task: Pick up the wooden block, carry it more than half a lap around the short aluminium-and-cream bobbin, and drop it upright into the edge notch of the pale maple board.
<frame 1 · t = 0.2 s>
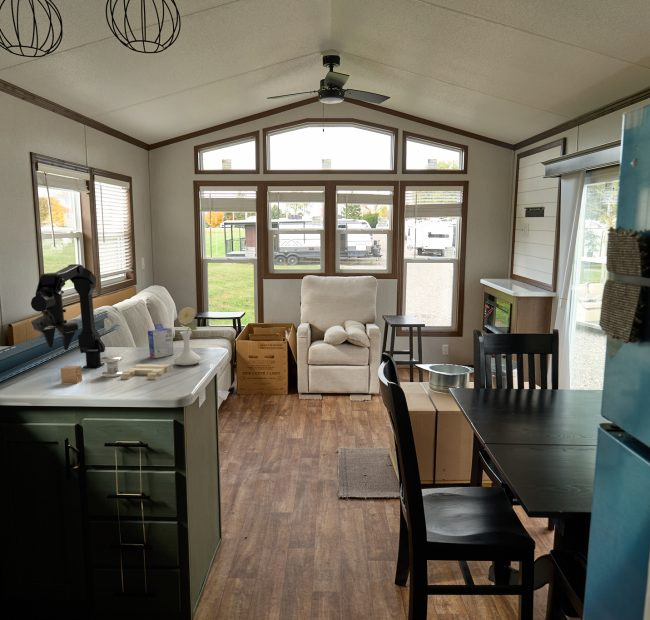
hand: (58, 348, 214), 14 cm above the table, tool pointing down, fingers open, 9 cm apart
ink cartridge box: (161, 356, 260), on the table
bobbin: (113, 374, 228), on the table
wooden block: (72, 382, 218), on the table
flower in vase: (188, 364, 243), on the table
notched board: (146, 373, 228), on the table
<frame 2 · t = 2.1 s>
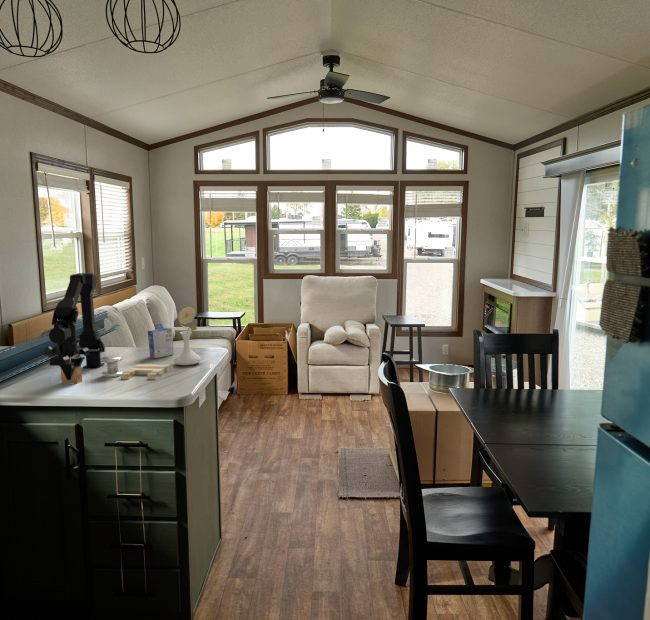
hand: (71, 378, 218), 2 cm above the table, tool pointing down, fingers closed on wooden block, 4 cm apart
wooden block: (72, 382, 218), on the table, touching gripper
everything else where it was.
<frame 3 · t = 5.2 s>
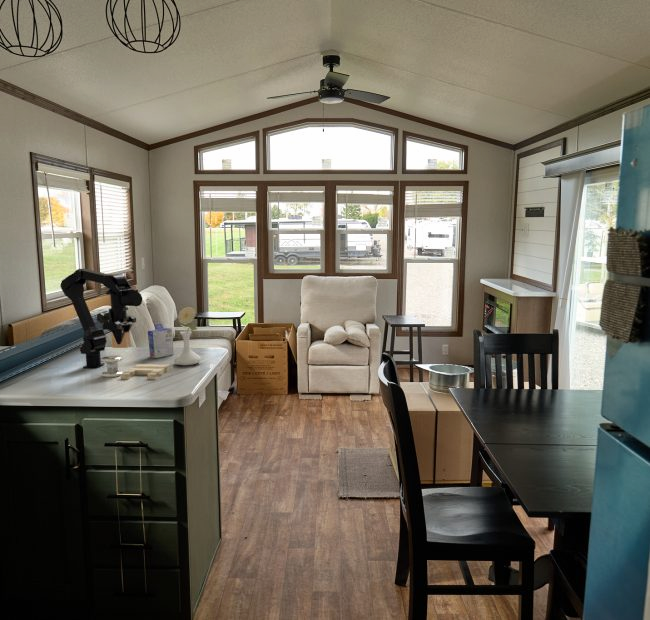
hand: (121, 343, 235), 11 cm above the table, tool pointing down, fingers closed on wooden block, 4 cm apart
wooden block: (121, 346, 235), point 10 cm above the table, touching gripper
everything else where it was.
when the fingers open (3 cm above the table, at t = 8.1 s): wooden block drops 2 cm, on the table.
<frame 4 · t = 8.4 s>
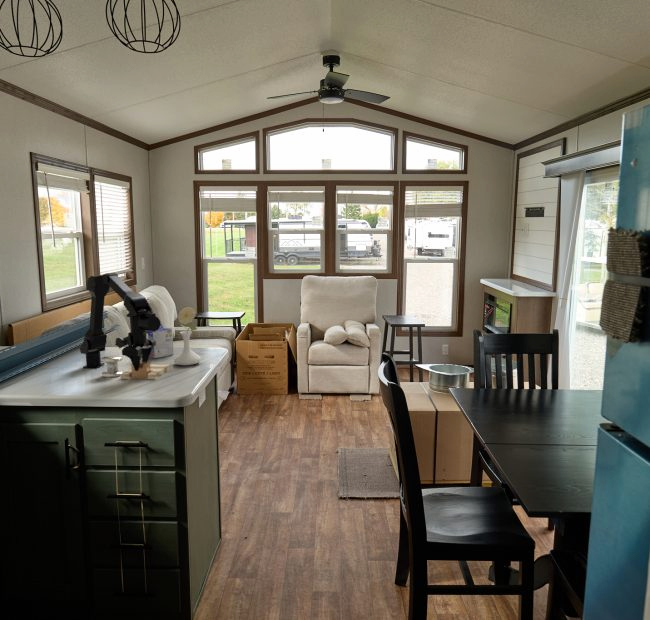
hand: (140, 368, 223), 3 cm above the table, tool pointing down, fingers open, 7 cm apart
wooden block: (141, 377, 223), on the table
everything else where it was.
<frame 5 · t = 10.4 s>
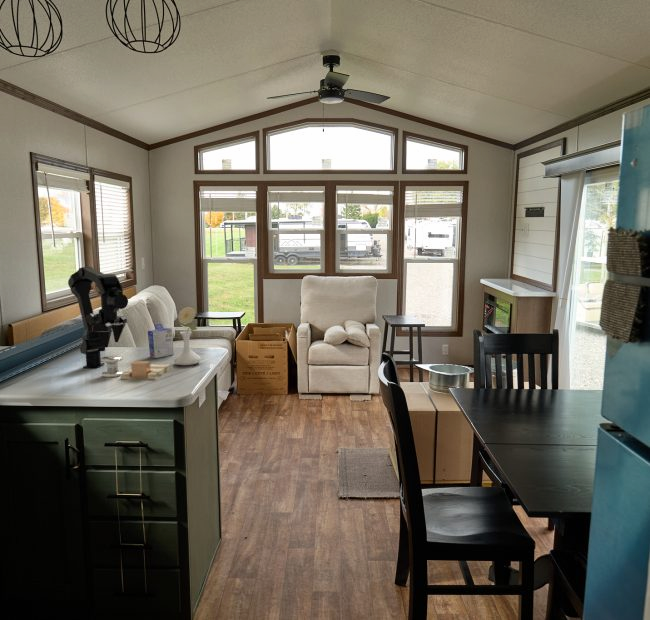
hand: (111, 344, 229), 12 cm above the table, tool pointing down, fingers open, 9 cm apart
nothing on the table moved.
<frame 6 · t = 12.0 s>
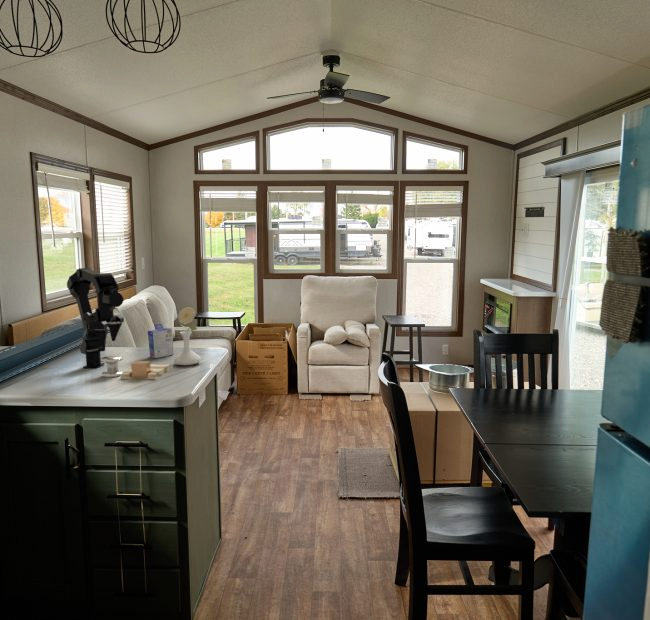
hand: (108, 343, 230), 12 cm above the table, tool pointing down, fingers open, 9 cm apart
nothing on the table moved.
at the end: wooden block 0.5 cm from the target spot on the notched board, point 0.0 cm above the notched board's base; wooden block tilted 0°; the gripper is holding nothing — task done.
